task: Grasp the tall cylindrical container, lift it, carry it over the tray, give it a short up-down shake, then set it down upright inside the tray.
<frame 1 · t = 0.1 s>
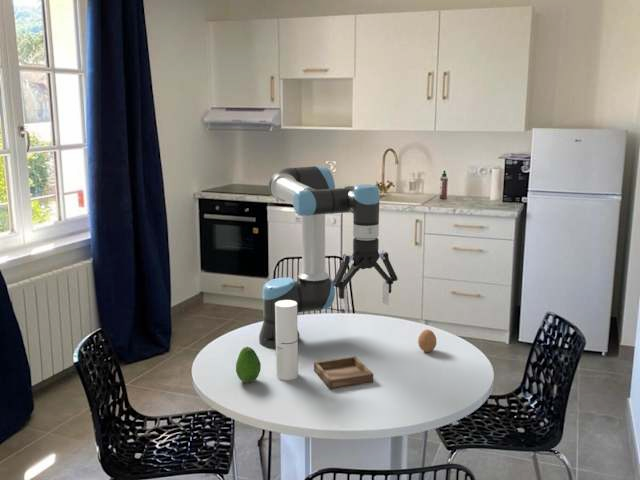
hand: (365, 306, 196), 28 cm above the table, fingers open, 13 cm apart
egg: (427, 352, 233), on the table
cylindrical container: (287, 376, 214), on the table
avocado: (248, 382, 210), on the table
tray: (343, 376, 213), on the table
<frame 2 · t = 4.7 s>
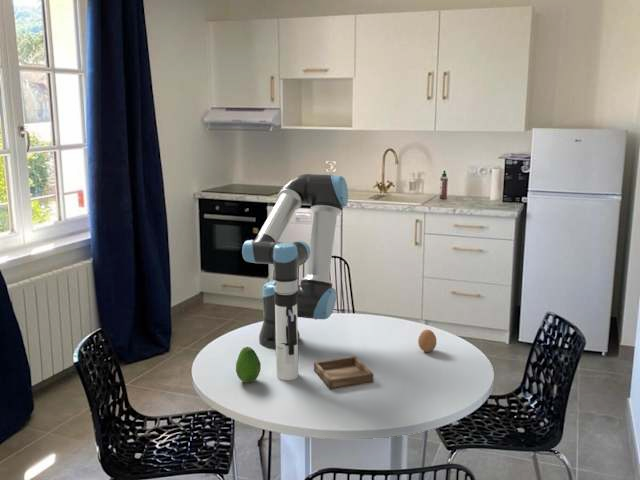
hand: (287, 358, 212), 6 cm above the table, fingers closed on cylindrical container, 7 cm apart
cylindrical container: (287, 376, 214), on the table, touching gripper
everything else where it was.
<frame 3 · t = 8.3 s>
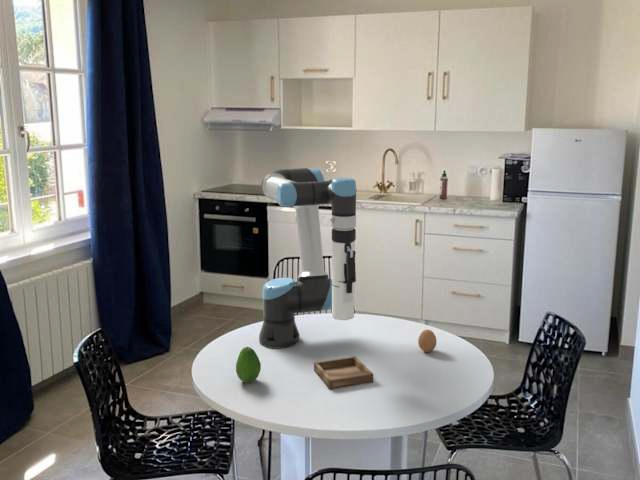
hand: (343, 298, 207), 27 cm above the table, fingers closed on cylindrical container, 7 cm apart
cylindrical container: (343, 316, 208), point 21 cm above the table, touching gripper
everything else where it was.
when the fingers open (8 cm above the table, at t = 12.3 s): cylindrical container drops 1 cm, resting on tray.
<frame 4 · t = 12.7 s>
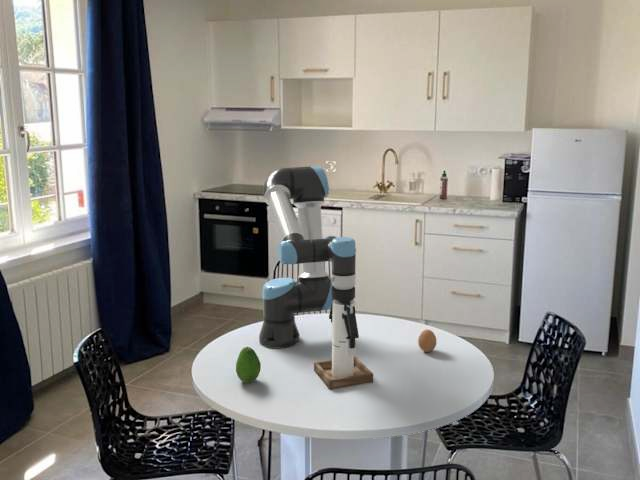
hand: (343, 349, 211), 10 cm above the table, fingers open, 13 cm apart
cylindrical container: (342, 374, 213), point 1 cm above the table, touching tray
everything else where it was.
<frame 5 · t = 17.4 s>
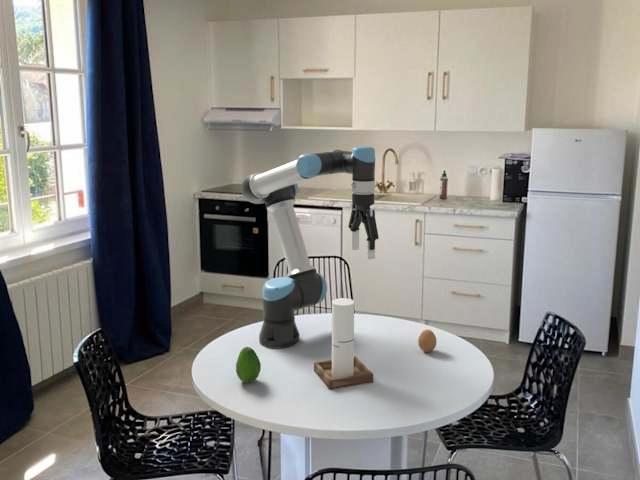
hand: (362, 254, 223), 37 cm above the table, fingers open, 13 cm apart
nothing on the table moved.
at the end: cylindrical container inside the target area on the tray (0.1 cm from its centre), point 0.6 cm above the tray's base; cylindrical container tilted 0°; the gripper is holding nothing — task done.
